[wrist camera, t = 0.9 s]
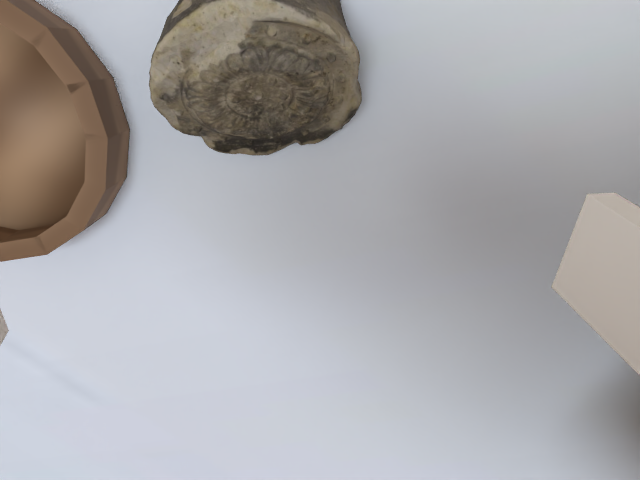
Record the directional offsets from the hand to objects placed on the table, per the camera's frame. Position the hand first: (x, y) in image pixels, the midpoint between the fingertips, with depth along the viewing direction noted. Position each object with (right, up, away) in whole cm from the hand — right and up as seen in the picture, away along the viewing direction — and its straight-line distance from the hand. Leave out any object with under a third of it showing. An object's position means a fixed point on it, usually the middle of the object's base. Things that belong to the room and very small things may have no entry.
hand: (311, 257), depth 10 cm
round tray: (-19, +7, +18) cm, 28 cm away
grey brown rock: (-3, +10, +17) cm, 20 cm away
